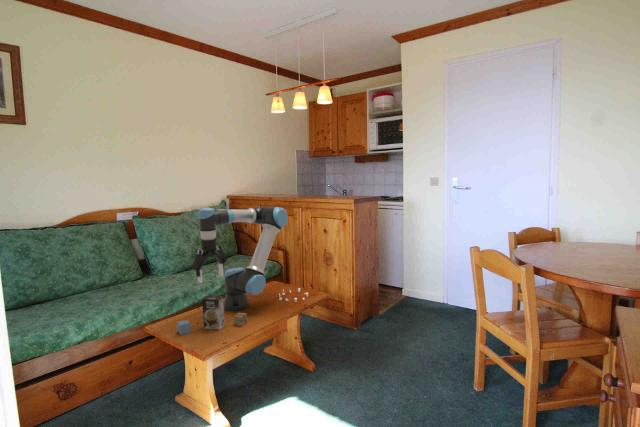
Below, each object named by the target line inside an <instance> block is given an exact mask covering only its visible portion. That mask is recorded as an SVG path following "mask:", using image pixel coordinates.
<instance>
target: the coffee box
mask: <svg viewBox="0 0 640 427" xmlns="http://www.w3.org/2000/svg"><path fill="white" fill-rule="evenodd" d="M201 302H202V312H203V313H202V316H203V317H202V318H203V329H204V330H221V329H222V328H223V327H224V326H225V312H224V311H225V309H224V305H223V303H224V296H223V295H206V296H205V297H203V298H202V300H201Z"/></svg>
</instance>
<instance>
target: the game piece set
mask: <svg viewBox="0 0 640 427" xmlns="http://www.w3.org/2000/svg"><path fill="white" fill-rule="evenodd" d="M297 292H299V293H301V287H298V288H297ZM289 293H292V290H289ZM281 294H282V295H283V296H284V295H285V294H286V293H285V290H284V288H283V289H282V292H281V293H278V295H279V296H278V297H279V298H278V299H279V301H282V300H283V297H281V296H282V295H281ZM304 295H306V297H309V292H308V291H307V292H304ZM297 300H298V298H297V297H294V303H296V302H298V301H297ZM302 300H303V301H304V300H305V297H304V296H303V297H302ZM288 301H289V299H288V298H285V302H288Z"/></svg>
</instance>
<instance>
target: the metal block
mask: <svg viewBox="0 0 640 427" xmlns="http://www.w3.org/2000/svg"><path fill="white" fill-rule="evenodd" d="M247 323H248V314H247V313H244V312H237V313H236V314H235V315H233V325H234V326H239V327H244V326H245V325H246V324H247Z"/></svg>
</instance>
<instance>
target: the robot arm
mask: <svg viewBox="0 0 640 427" xmlns="http://www.w3.org/2000/svg"><path fill="white" fill-rule="evenodd" d="M197 219H198V221H199V229H200V231H199V234H200V246H201V249H197V250H196V255H195V257H194V258H195V259H194V261H193V265H192V267H191V270H193V271H195V273H196V275H195V276H196V277H197V283H198V284H199V283H200V284H202V283H204V282H203V271H202V268H203V265H204V263H205V262H206V260H207V259H208V258H210V257H213V258H215V260H216V261H217V262H218V264H217V266H218V276H219V277H224V286H225V295H224V296H225V297H224V300H223V305H224V310H226V311H230V312H234V311H235V312H236V311H241V310H244V309H246V308H248V307H249V306H250V300H249V299H248V295H253V296H255V295H256V296H257V295H260V294H261V292H263V291H264V289H265V288H266V285H267V284H266V283H267V282H266V278H265V271H264V270H265V267H266V264H267V261H268V259H269V255H270V253H271V251H272V247H273V245H274V242H275V239H276V236H277V234H278V233H281V231H282V230H281V229H282V228H284V227H285V226H287V225H288V222H289V215H288V212H287V211H286V210H285V209H284V208H283V207H279V206H276V207H275V206H259V207H249V208H248V209H238V208H237V209H226V208H225V209H223V208H221V209H220V208H219V209H218V208H216V209H215V208H214V207H206V208H205V207H204V208H201V209H199V210H198V212H197ZM232 223H249V224H256V225H261V226H262V231H261V233H260V236H259V239H258V242H257V244H256V247H255V251H254V253H253V255H252V257H251V258H252V259H251V261H250V263H249V266H246V267H245V268H244V267H232V268H230V269H227V270H225V272H224V269H225V264H226V262H228V261H227V258H226V256H225V253H224V252H223V250H222V246H221V245H218V244H217V239H216V238H217V231H216V230H217V228H216V226H217V227H218V226H222V225H230V224H232ZM247 294H248V295H247Z"/></svg>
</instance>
